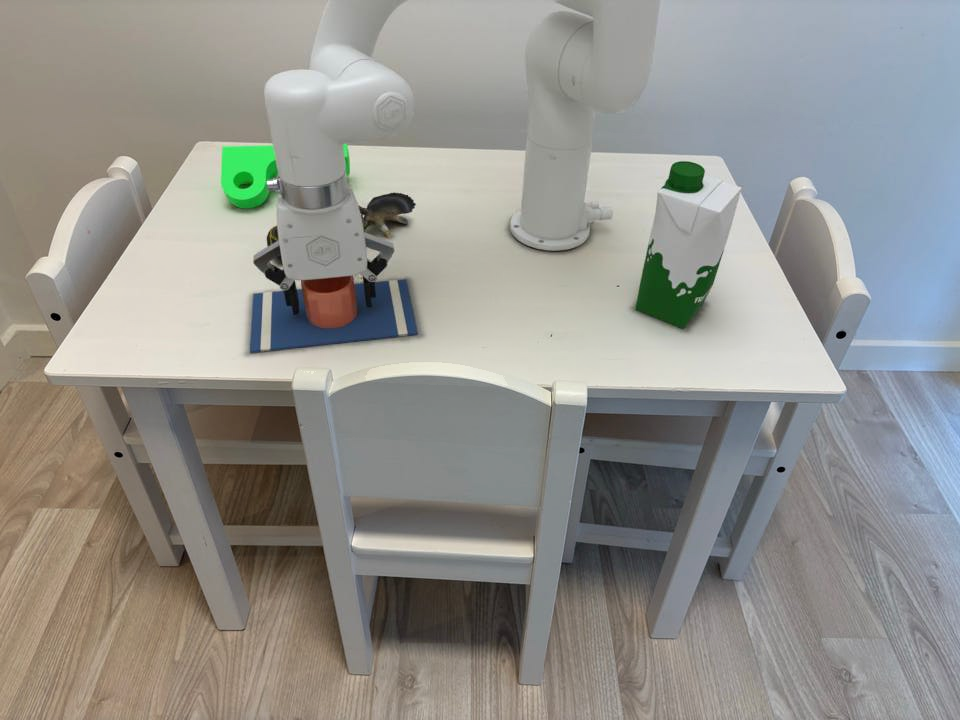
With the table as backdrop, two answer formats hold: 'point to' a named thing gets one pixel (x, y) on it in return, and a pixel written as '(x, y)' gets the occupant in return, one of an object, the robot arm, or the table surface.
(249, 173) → the bracket
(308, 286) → the orange plastic cup
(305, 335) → the towel
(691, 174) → the milk carton
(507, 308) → the table surface
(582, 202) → the robot arm
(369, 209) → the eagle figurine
